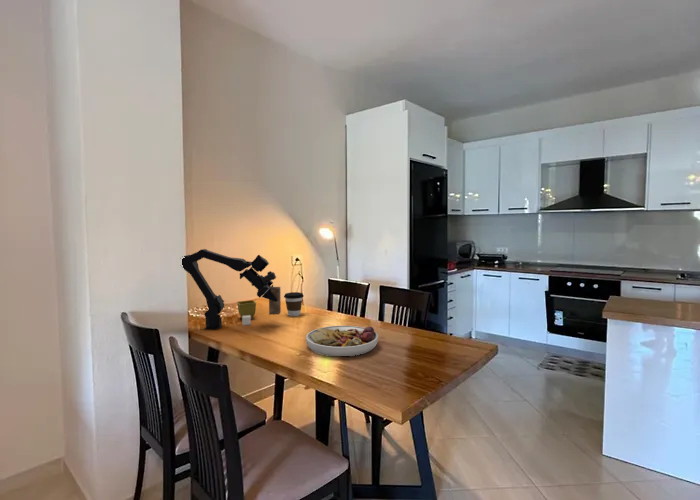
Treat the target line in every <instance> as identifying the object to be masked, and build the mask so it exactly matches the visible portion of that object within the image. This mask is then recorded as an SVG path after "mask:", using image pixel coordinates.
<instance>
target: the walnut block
mask: <svg viewBox="0 0 700 500" xmlns="http://www.w3.org/2000/svg"><path fill="white" fill-rule="evenodd" d="M270 288H271V292H272V293H273V295H274V296H275V297H276V299H277V300H278V301H277V302H275V301H272V300H269V299H268V315H275V316H276V315H280V314H281V312H282V311H281V304H282V303H281V286H273V287H270ZM270 288H269V289H270Z"/></svg>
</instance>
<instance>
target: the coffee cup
mask: <svg viewBox="0 0 700 500" xmlns="http://www.w3.org/2000/svg"><path fill="white" fill-rule="evenodd" d="M283 298H284V299H285V304H286V305H285V306H286V310H287V314H288V316H289V317H298V316H300V315H301V311H302V307H303V306H302V305H303V298H304V293H303V292H298V291H297V292H296V291H294V292H286V293H285V294H284V296H283Z"/></svg>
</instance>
